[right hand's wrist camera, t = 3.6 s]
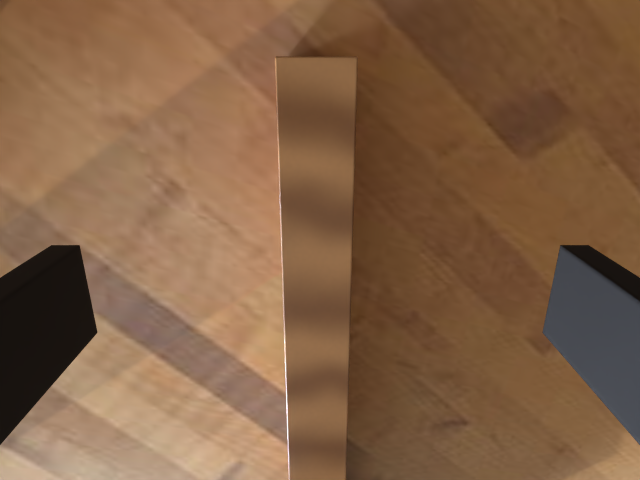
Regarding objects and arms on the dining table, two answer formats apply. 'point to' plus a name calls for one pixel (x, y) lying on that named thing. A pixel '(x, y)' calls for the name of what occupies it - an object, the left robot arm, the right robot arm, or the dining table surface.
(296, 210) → the post
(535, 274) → the dining table surface
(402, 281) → the dining table surface
